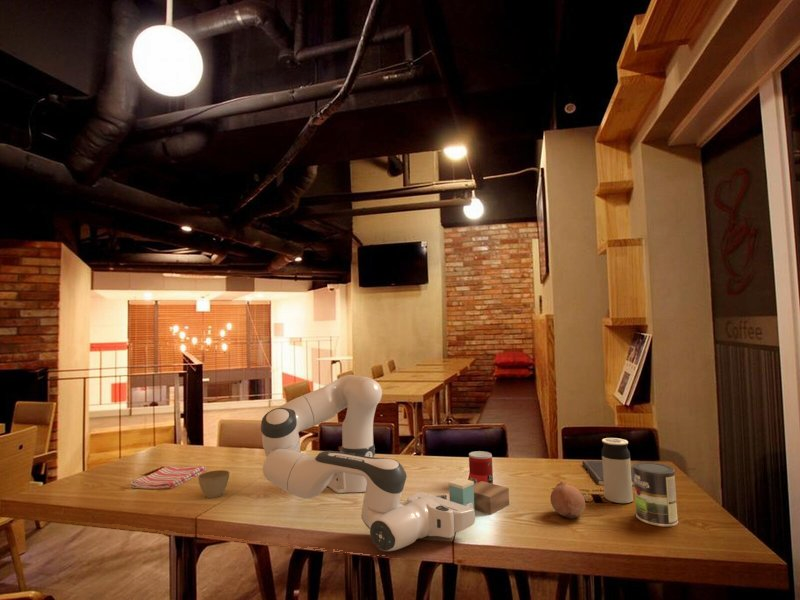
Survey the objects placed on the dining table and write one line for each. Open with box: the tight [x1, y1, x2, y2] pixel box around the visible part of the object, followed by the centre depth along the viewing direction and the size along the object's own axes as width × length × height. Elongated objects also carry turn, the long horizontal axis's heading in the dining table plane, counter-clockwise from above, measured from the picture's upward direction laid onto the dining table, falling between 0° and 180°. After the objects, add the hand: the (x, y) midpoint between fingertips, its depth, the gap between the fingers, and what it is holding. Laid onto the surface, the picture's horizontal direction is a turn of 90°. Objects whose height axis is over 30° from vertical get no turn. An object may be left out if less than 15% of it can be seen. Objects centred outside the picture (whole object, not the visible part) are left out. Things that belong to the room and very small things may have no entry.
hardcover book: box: [581, 460, 635, 487], centre depth 161 cm, size 16×23×2 cm
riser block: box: [473, 481, 510, 516], centre depth 136 cm, size 10×10×5 cm
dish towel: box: [130, 465, 207, 490], centre depth 172 cm, size 17×23×4 cm
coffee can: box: [632, 461, 679, 528], centre depth 123 cm, size 10×10×14 cm
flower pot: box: [197, 469, 231, 499], centre depth 152 cm, size 10×10×7 cm
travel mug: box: [601, 437, 634, 504], centre depth 138 cm, size 8×8×18 cm
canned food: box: [468, 450, 494, 485], centre depth 153 cm, size 8×8×11 cm
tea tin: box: [448, 477, 475, 510], centre depth 128 cm, size 5×5×10 cm
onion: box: [549, 481, 586, 520], centre depth 127 cm, size 10×9×10 cm
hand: (457, 501), depth 126 cm, fingers open, 8 cm apart
